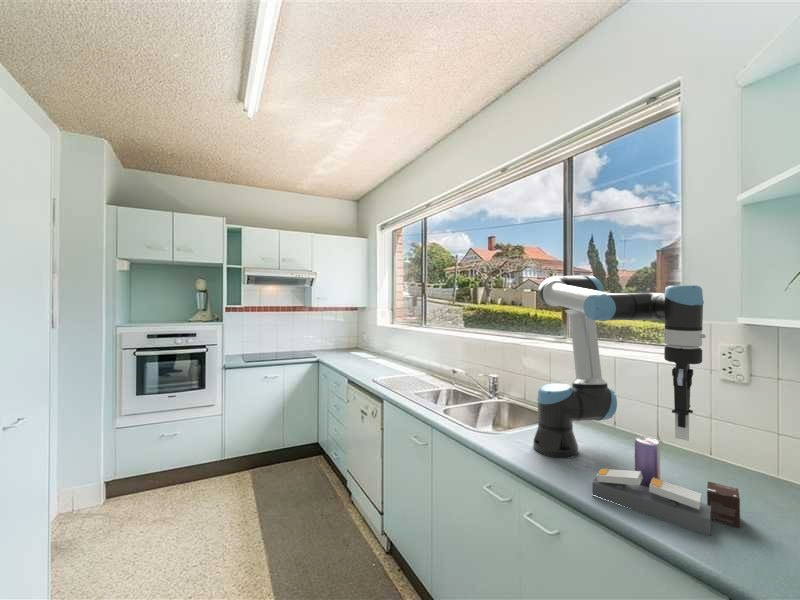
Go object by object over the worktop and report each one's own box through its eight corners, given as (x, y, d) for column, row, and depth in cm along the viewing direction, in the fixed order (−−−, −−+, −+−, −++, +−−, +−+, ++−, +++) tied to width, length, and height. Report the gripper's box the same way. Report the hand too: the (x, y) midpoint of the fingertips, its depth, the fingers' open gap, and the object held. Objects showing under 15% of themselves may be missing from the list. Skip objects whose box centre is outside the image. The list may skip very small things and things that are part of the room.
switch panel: (592, 496, 101) (592, 479, 101) (599, 486, 106) (599, 470, 106) (709, 536, 83) (709, 515, 83) (711, 522, 89) (711, 502, 89)
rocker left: (598, 481, 100) (596, 474, 101) (603, 475, 104) (601, 467, 104) (639, 485, 94) (637, 477, 94) (642, 478, 97) (640, 470, 98)
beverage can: (649, 499, 98) (648, 445, 98) (629, 488, 104) (629, 437, 104) (665, 496, 100) (665, 442, 100) (645, 485, 106) (645, 435, 106)
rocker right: (649, 491, 92) (649, 483, 92) (652, 483, 96) (652, 476, 96) (699, 509, 85) (700, 501, 85) (700, 500, 89) (701, 492, 89)
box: (739, 517, 90) (739, 488, 90) (740, 529, 86) (740, 499, 86) (707, 508, 94) (707, 480, 94) (707, 519, 90) (706, 490, 90)
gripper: (700, 351, 83) (699, 451, 84) (704, 344, 92) (703, 434, 93) (660, 348, 88) (659, 442, 89) (668, 341, 98) (667, 427, 98)
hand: (682, 438), depth 91 cm, fingers closed
